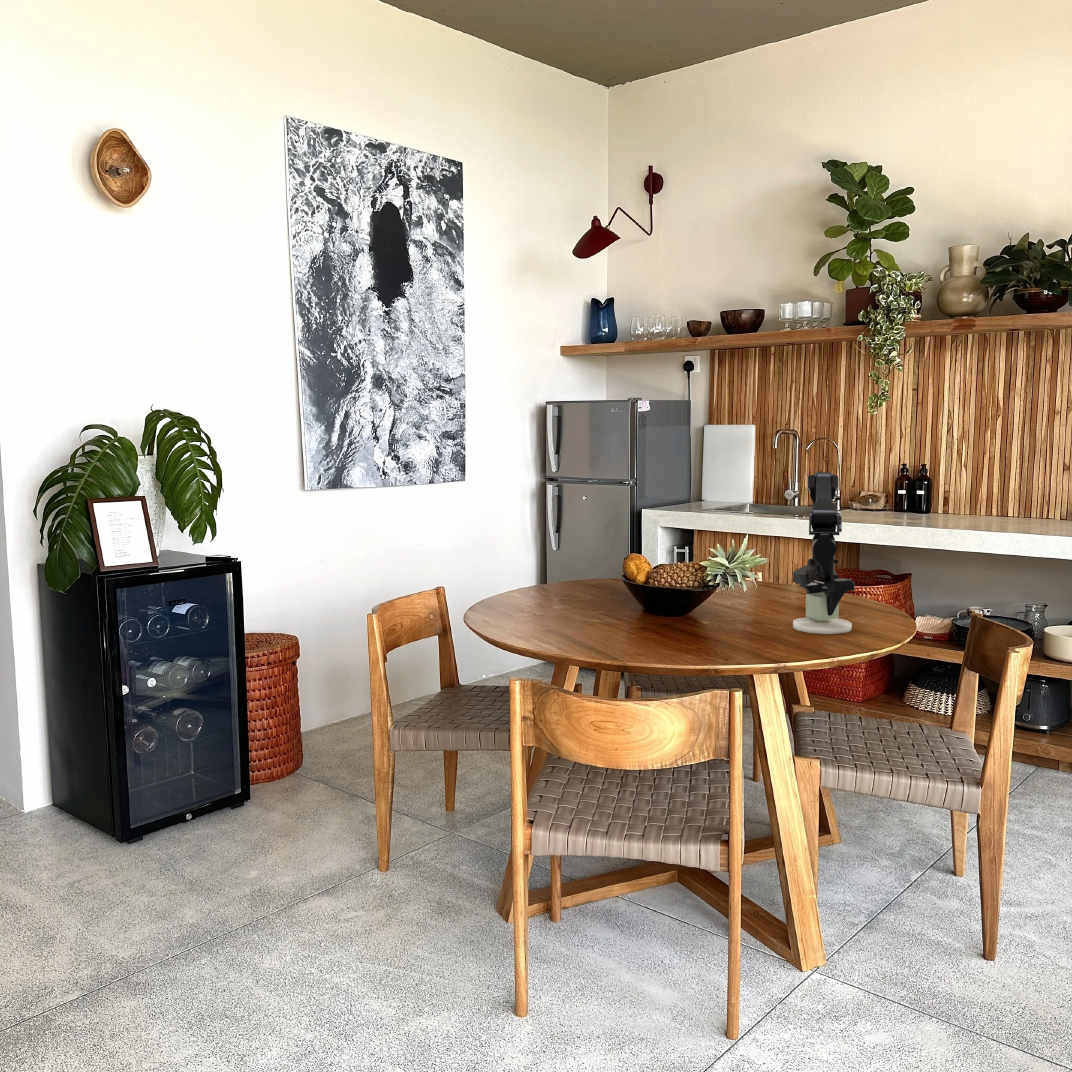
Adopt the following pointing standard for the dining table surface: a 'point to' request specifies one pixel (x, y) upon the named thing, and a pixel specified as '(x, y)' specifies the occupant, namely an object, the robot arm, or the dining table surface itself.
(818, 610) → the sage cube
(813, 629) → the plate
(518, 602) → the dining table surface
